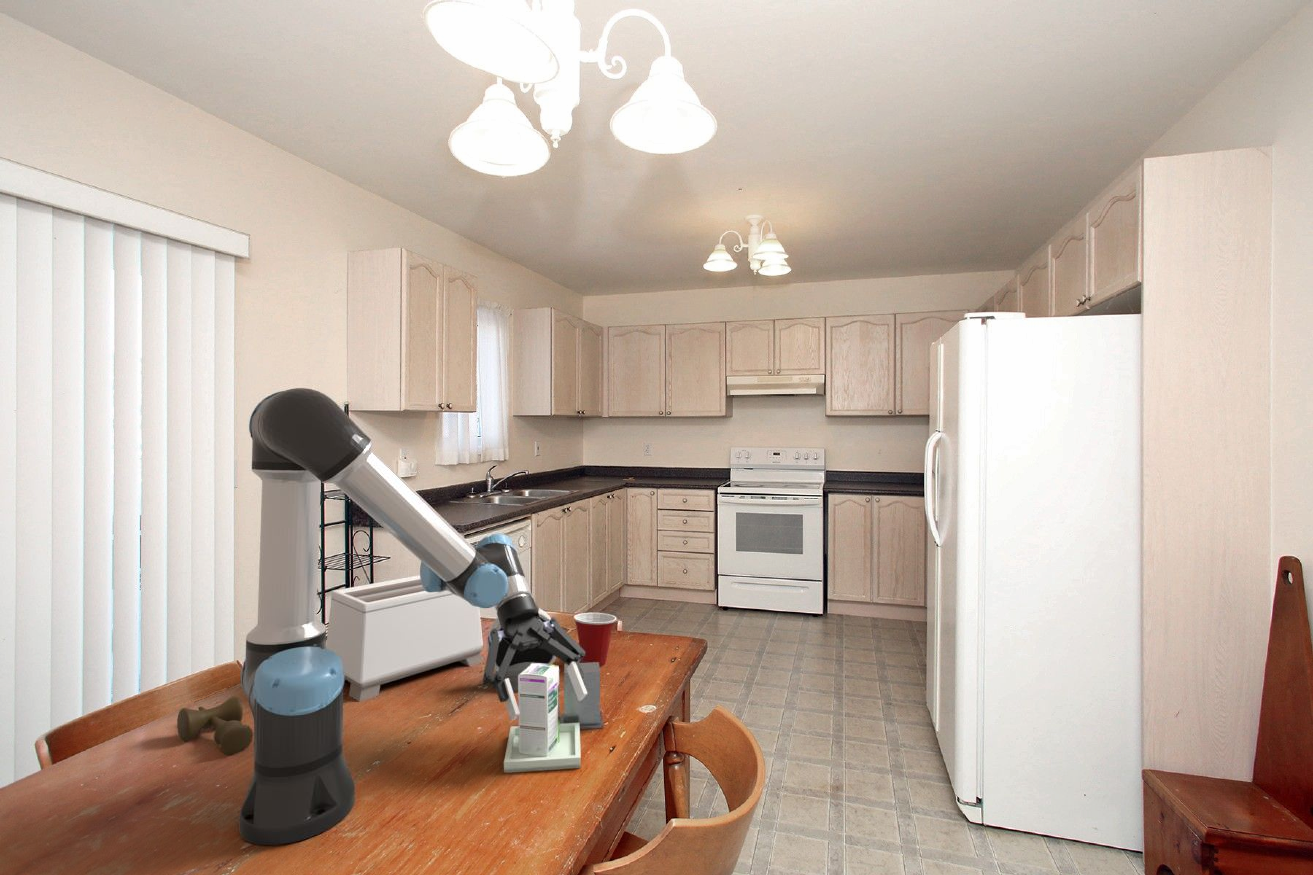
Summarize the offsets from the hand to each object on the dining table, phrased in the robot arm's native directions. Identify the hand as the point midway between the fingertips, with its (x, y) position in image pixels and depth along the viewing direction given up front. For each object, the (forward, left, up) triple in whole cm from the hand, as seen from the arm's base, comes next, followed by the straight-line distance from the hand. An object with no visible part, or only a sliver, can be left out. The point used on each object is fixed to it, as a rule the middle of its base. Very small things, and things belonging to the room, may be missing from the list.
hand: (550, 707), depth 111 cm
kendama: (-62, +15, -9) cm, 65 cm away
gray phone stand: (+6, +13, -9) cm, 16 cm away
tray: (-1, +2, -9) cm, 9 cm away
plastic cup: (+10, +44, -9) cm, 46 cm away
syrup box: (-2, +2, -8) cm, 9 cm away
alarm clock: (-7, +34, -9) cm, 36 cm away
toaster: (-35, +46, -9) cm, 58 cm away
